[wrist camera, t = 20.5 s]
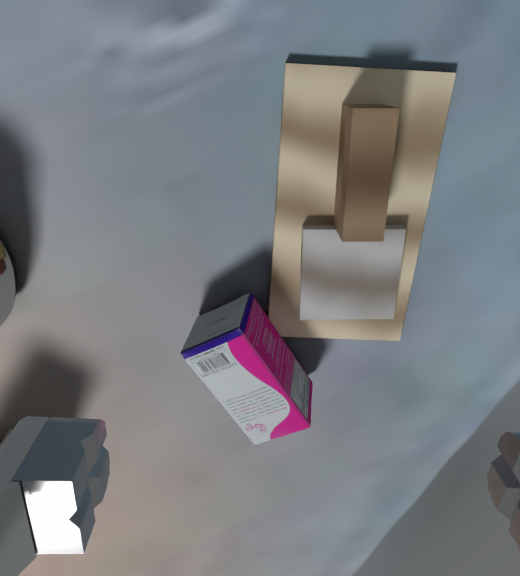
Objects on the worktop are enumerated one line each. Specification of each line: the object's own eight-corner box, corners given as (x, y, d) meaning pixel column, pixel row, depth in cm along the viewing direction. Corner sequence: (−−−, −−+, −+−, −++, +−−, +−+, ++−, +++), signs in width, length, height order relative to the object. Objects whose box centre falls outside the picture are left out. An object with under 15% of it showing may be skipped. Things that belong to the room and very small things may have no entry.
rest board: (285, 63, 33) (285, 63, 32) (451, 72, 33) (456, 72, 32) (267, 331, 42) (267, 336, 41) (397, 336, 42) (399, 340, 42)
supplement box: (197, 313, 41) (262, 402, 46) (178, 354, 36) (252, 449, 40) (252, 288, 39) (314, 384, 43) (240, 328, 34) (311, 431, 38)
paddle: (307, 104, 33) (314, 108, 29) (418, 104, 33) (438, 108, 30) (298, 313, 40) (303, 337, 37) (389, 312, 40) (402, 336, 37)
